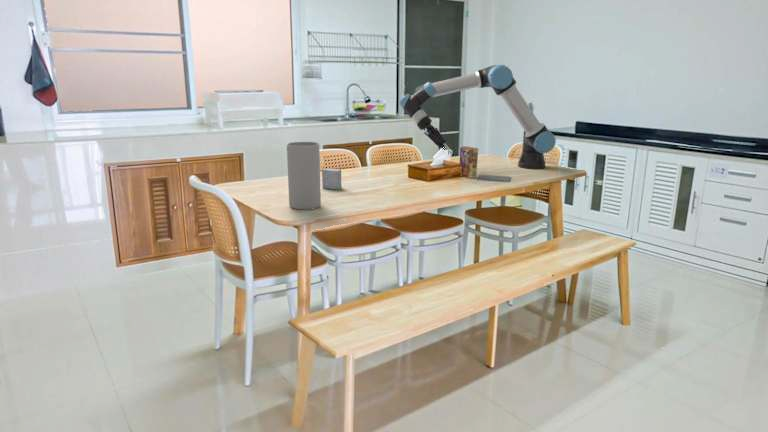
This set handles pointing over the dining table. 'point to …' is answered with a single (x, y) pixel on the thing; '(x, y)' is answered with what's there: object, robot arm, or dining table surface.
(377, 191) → the dining table surface
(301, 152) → the cylinder vase
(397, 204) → the dining table surface
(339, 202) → the dining table surface
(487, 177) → the slate mat
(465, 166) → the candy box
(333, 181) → the medicine box
